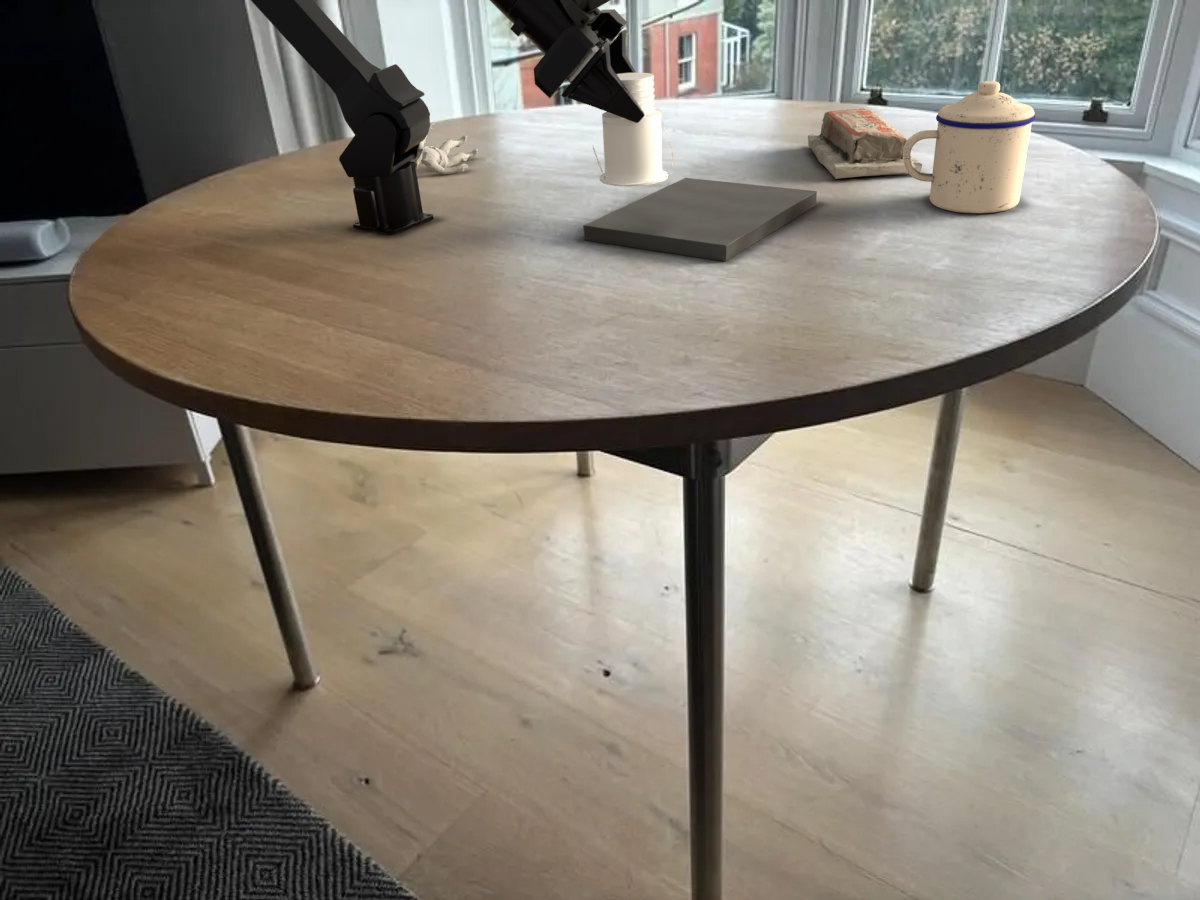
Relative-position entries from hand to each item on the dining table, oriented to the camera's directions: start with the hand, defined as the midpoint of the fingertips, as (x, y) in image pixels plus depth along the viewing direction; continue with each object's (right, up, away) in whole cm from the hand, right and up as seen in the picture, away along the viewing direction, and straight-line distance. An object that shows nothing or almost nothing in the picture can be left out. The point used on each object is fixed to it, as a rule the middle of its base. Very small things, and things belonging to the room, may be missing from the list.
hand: (646, 113), depth 91 cm
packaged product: (+27, +2, +23) cm, 36 cm away
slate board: (+6, -10, +4) cm, 12 cm away
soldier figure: (-25, +4, +33) cm, 42 cm away
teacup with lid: (+32, -8, +5) cm, 34 cm away
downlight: (-1, -6, +4) cm, 7 cm away
